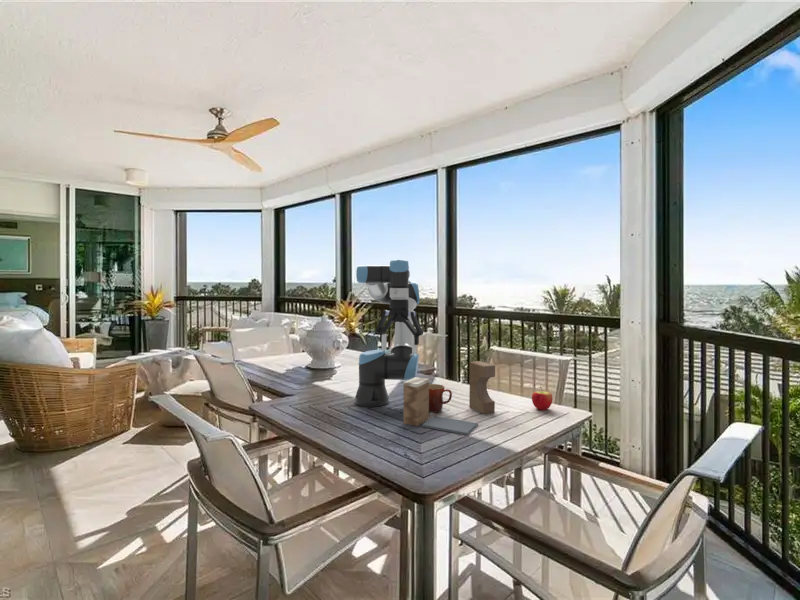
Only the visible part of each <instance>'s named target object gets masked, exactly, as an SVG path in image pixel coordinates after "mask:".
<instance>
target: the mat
mask: <svg viewBox="0 0 800 600" xmlns="http://www.w3.org/2000/svg"><path fill="white" fill-rule="evenodd" d="M421 426H422V427H423V428H427V429H431V430H432V429H433V430H439V431H443V432H449V433H453V434H459V435H466V436H468V435H469V434H471V432H473V431H474V429H476V428H477V427H478V426H479V423H478V422H474V421H467V420H461V419H456V418H450V417H444V416H439V415H434V416H433V417H431V418H429V419H427V420H426V421H424V422H423V424H422V423H421Z"/></svg>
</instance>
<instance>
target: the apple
mask: <svg viewBox="0 0 800 600" xmlns="http://www.w3.org/2000/svg"><path fill="white" fill-rule="evenodd" d="M540 390H541V391H537V390H536V391H533V393H532V395H531V402H532V404H533V406H534V407H535V408H536V409H537V410H540V411H546V410H549V408H550V407H551V406H552V403H553V395H552V393H551V392H549V391H543V389H542V387H541V386H540Z"/></svg>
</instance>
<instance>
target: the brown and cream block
mask: <svg viewBox="0 0 800 600" xmlns="http://www.w3.org/2000/svg"><path fill="white" fill-rule="evenodd" d="M402 383H403V424H405V425H409V426H410V425H411V426H415V427H418V426H419V425H422V423H423V424H424V423H425V422H427V421H428V420H430V414H429V413H430V412H429V384H430V378H425V377H418V376H416V377H414V378H412V379H410V380H404V381H403V382H402Z"/></svg>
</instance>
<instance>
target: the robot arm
mask: <svg viewBox="0 0 800 600" xmlns="http://www.w3.org/2000/svg"><path fill="white" fill-rule="evenodd" d="M355 271H356V272H355V273H356V274H355V275H356V282H357V283H359V284H365V285H366V286H367V288H368V289H367V291H368V293H369V295H370V297H371V298H372V299H373V300H375V301H376V302H380V303H382V304H385V305H386V304H387V305H389V310H388V309H384V310H382V315H381V318H380V320H379V322H378V324H377V327H376V328H375V332H376V333H378V334H379V342H380V343H381V349H372V350H367V351H364V352H362V353H360V354H359V357H358V388H357V391H356V394H355V398H354V403H355V404H356V405H358V406H359V407H360V406H361V407H366V408H367V407H370V408H372V407H373V408H374V407H381V406H385V405H387V404H389V401H390V397H389V393H388V390H387V386H386V380H389V381H390V380H393V381H394V380H395V381H396V380H397V381H398V380H399V381H407V380H410V379H412V378H414V377H417V376H418V370H419V362H420V355H419V353H417V351H418V348H417V347H418V345H419V343H420V336H423V335H424V331H423V329H422V326H421V324H420V322H419V319H418V318H417V312H416V310H414V309H416V308H417V305H419V304H420V291H419V290H420V289H419V288H420V287H419V284H418V282H417V281H415V280H414V281H413V280H409V278H410V276H411V275H410V274H411V273H410V267H409V260H408V259H391V260H390V262H389V265H388V264H387V265H386V264H385V265H384V264H383V265H377V264H372V265H371V264H362V265H361V264H360V265H357V267H356V270H355ZM388 316H390V318H389V319H388V320H387V318H388ZM386 320H387V322H386ZM393 323H394V339H393V342H394V343H393V347H392V348H391V349H390V351H389V352H390V353H389V352H386V350H387V342H388V341H387V337H388V336H387V333H386V332H387V331H388V330H389V328H390V327H391V326H392V324H393ZM384 324H385V325H384Z"/></svg>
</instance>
